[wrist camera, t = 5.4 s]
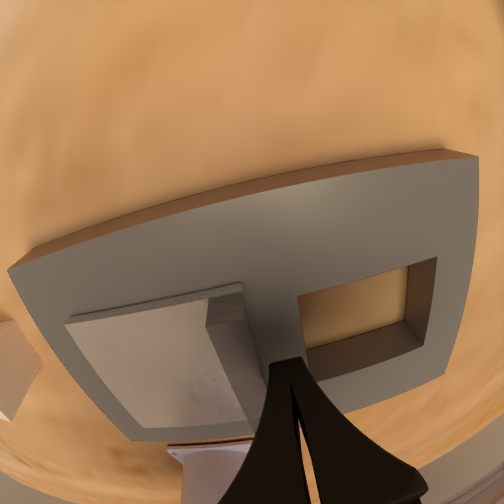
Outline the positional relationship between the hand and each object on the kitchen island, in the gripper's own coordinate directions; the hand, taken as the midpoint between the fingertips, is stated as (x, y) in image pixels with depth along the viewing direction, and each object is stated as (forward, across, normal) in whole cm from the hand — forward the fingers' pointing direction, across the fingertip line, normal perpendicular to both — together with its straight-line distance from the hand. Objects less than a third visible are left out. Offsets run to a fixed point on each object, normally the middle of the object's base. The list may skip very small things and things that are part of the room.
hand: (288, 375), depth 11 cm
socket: (+4, +1, 0) cm, 4 cm away
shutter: (+1, +5, 0) cm, 5 cm away
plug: (+4, +20, -1) cm, 20 cm away
